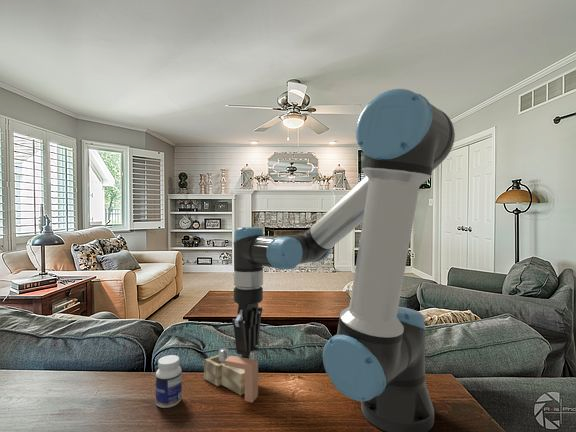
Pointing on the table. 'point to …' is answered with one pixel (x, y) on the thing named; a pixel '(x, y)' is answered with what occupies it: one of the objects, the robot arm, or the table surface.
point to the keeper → (246, 374)
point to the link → (224, 375)
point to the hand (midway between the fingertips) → (247, 377)
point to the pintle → (223, 355)
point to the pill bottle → (168, 382)
